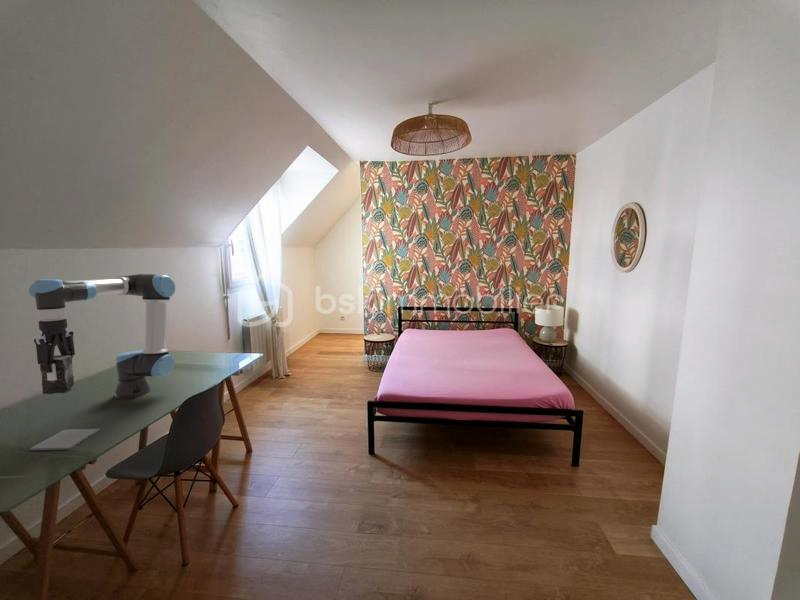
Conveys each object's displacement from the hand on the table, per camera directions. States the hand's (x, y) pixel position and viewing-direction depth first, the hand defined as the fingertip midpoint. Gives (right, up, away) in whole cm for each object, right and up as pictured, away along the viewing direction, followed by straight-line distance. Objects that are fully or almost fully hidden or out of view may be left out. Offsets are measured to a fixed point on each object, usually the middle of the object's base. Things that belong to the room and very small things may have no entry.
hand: (59, 377), depth 129 cm
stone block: (0, -6, -1) cm, 7 cm away
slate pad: (-1, -26, +3) cm, 26 cm away
